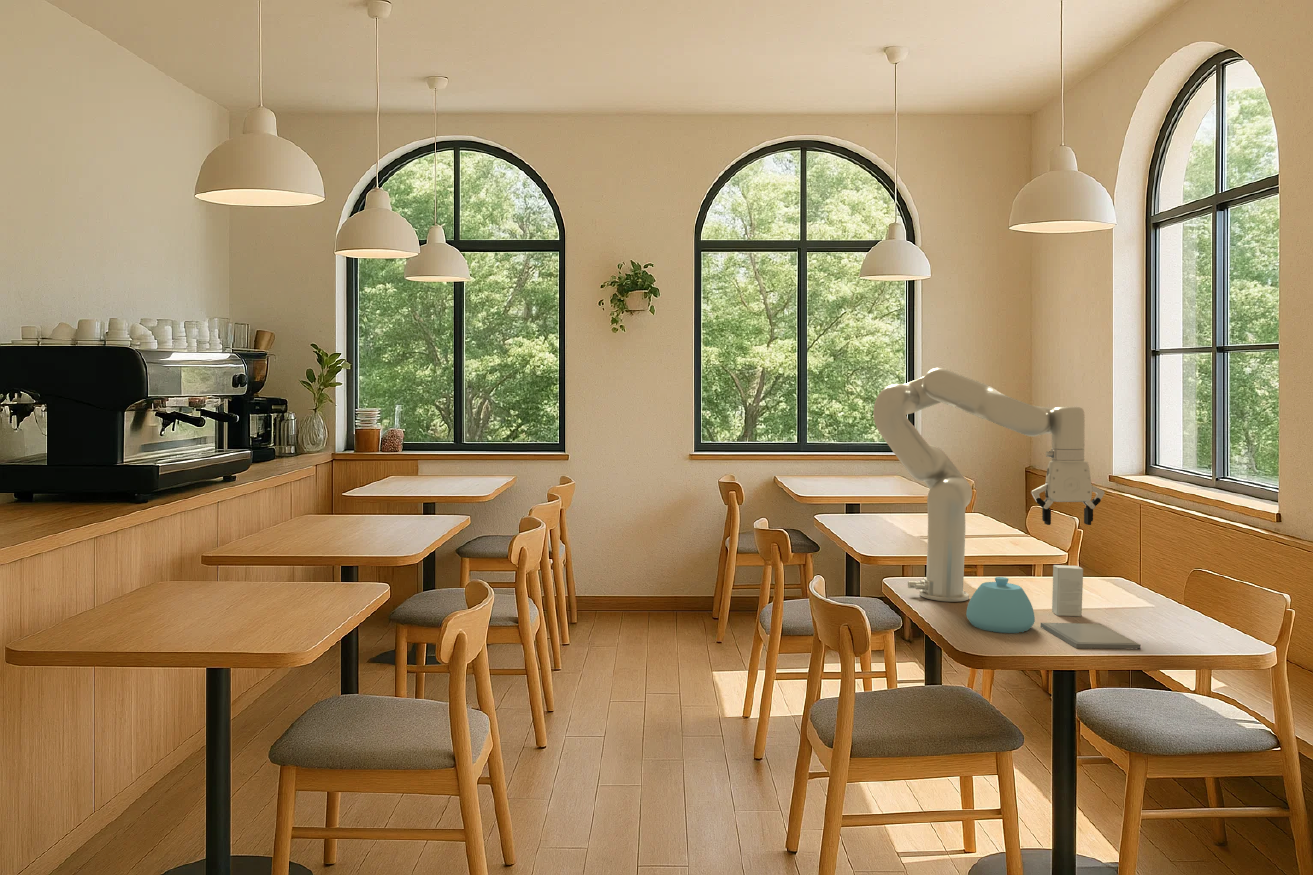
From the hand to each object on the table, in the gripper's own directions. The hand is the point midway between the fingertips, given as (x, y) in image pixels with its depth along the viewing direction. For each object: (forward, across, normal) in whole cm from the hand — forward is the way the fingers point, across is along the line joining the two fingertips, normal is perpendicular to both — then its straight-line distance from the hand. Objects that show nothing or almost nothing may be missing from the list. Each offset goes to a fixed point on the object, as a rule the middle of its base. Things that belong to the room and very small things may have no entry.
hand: (1067, 524), depth 235 cm
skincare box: (+22, -1, -3) cm, 22 cm away
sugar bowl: (+22, -21, -18) cm, 35 cm away
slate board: (+22, -3, -25) cm, 34 cm away
